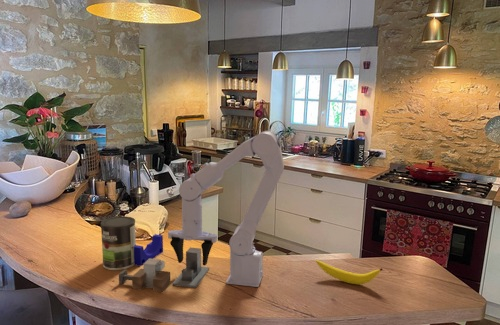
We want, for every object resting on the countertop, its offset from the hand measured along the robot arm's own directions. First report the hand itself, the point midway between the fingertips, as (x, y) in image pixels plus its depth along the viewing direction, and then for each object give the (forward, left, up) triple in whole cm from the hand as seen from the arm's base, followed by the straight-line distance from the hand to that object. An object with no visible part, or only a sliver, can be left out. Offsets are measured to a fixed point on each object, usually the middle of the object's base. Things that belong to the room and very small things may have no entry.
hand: (192, 262), depth 109 cm
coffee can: (+26, -2, -4) cm, 26 cm away
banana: (-45, -6, -4) cm, 46 cm away
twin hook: (+11, +3, -4) cm, 12 cm away
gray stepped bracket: (0, +1, -3) cm, 4 cm away
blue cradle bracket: (+19, -8, -4) cm, 22 cm away
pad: (0, +1, -4) cm, 4 cm away
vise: (+11, +9, -4) cm, 15 cm away
